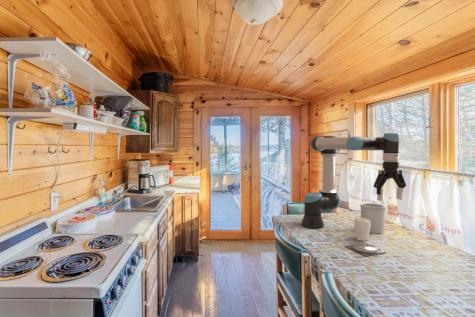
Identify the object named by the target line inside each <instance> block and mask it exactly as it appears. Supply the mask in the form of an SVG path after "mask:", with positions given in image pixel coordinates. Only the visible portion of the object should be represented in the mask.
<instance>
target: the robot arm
mask: <svg viewBox="0 0 475 317" xmlns="http://www.w3.org/2000/svg"><path fill="white" fill-rule="evenodd" d="M400 142H401V139H400V133H398V132H385V133H383V136H377V137H375V136H374V137H373V136H372V137H369V136H347V137H345V136H344V137H338V136H335V135H334V136H333V135H316V136H315V135H314V137H312V138H311V140H310V142H309V147H310V148H311V150H313V151H315V152H320V155H321V156H322V175H321V176H322V183H321V186H322V188H321V190H320V191H319V192H317V191H315V192H313V191H311V192H308V193H305V195H304V200H303V201H304V205H303V206H304V210H303V211H304V212H303V213H304V214H303V218H302V221H301V226H302V227H304V228H307V229H310V230H311V229H314V230H317V229H323V228H324V227H325V224H324V219H323V216H322V212H323V211H332V210H336V209H338V208H339V207H340V206H341V197H340V195H339V194H338V192H337V190H336V188H335V187H336V184H335V182H336V156H337V155H338V152H339V151H340V150H344V151H345V150H346V151H382V168H383V169H379V170H378V174H377V176H376V178H375V181H374V184H373V188H375V189H376V200H377V201H379V202H383V194H384V193H383V192H384V190H383V187H384V185H385V184H386V182H388V180H389V179H392V180H393V181H394V183H395V185H396V199H397V200H401V201H402V200H403V192H404V189H405V188H406V187H407V183H406V181H405V179H404V176H403V169H400V168H399V167H400V162H399V160H400Z"/></svg>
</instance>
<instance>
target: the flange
mask: <svg viewBox="0 0 475 317" xmlns="http://www.w3.org/2000/svg"><path fill="white" fill-rule="evenodd" d="M344 247H345V248H347V249H349V250H351V251H353V252H355V253H356V254H359V255H361V256H363V257H366V258H368V257H374V256H378V255H383V254H386V253H387V252H386V251H385V250H382V249H381V248H379V247H378V246H376V245H374V244H371V243H368V242H367V243H366V242H363V241H362V242H360V241H359V242H353V243H351V244H347V245H344Z"/></svg>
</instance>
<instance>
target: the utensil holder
mask: <svg viewBox="0 0 475 317" xmlns="http://www.w3.org/2000/svg"><path fill="white" fill-rule="evenodd" d="M385 211H386V205H385V204H381V203H376V202H361V203H360V218H366V219H369V220H370V224H371V226H370V232H369V234H375V235H376V234H380V235H381V234H384V231H385V217H386V216H385V214H386V212H385Z"/></svg>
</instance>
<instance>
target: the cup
mask: <svg viewBox="0 0 475 317" xmlns="http://www.w3.org/2000/svg"><path fill="white" fill-rule="evenodd" d="M353 221H354V222H353V226H354V227H353V228H354V234H355V239H356V240H359V241H362V242H365V241H368V240H369V236H370V233H369V232H370V226H371V224H370V220H369V219H366V218H361V217H355V218H354V220H353Z"/></svg>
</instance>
